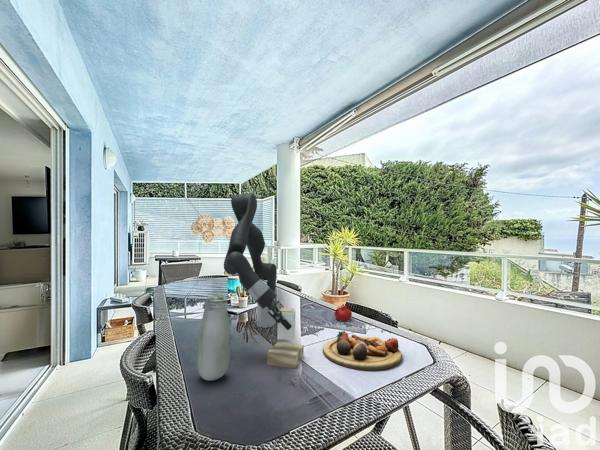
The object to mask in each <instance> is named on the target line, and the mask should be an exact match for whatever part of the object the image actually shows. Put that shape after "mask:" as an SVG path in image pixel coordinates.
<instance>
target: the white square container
mask: <svg viewBox="0 0 600 450" xmlns="http://www.w3.org/2000/svg"><path fill="white" fill-rule="evenodd" d="M281 312H282V315H283V316H284V317H285V319H286V320H287V321H288V322H289V323H290V324H291V326H292V327H291V328H290V329H289V330H287V329H286V328H285V327H284V326H283V325H282V324H281V323H277V332H276V333H277V337H276V338H277V340H289V341H294V338H295V336H296V335H295V333H296V330H295V329H296V308H294V307H284V308H281ZM278 313H279V312H278ZM278 318H280V317H278Z"/></svg>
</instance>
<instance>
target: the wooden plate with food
mask: <svg viewBox="0 0 600 450" xmlns="http://www.w3.org/2000/svg"><path fill="white" fill-rule="evenodd" d="M399 347H400V346H399V341H398V339H397V338H395V337H392V338H391V337H390V338H388V339H386V340H385V341H384V340H382V339H381V338H379V337H376V336H368V337H366V336H358V335H356V334H352V335H351V336H349V335H348V332H346V331H345V330H343V331H339V332H338V334H337V335H336V338H334V339H330V340H329V341H327V342H325V344H324V345H323V347H322V354H323V356H324V357H325V358H326V359H328V361H330V362H332V363H334V364H336V365H338V366H341V367H343V368H344V367H345V368H349V369H353V370H362V371H380V370H386V369H390V368H393V367H396V366H397V365H398V364H400V363H401V361H402V360H403V354H402V352H401V350H400V349H399Z"/></svg>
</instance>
